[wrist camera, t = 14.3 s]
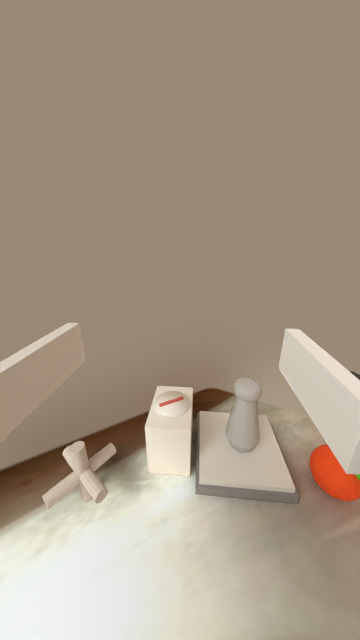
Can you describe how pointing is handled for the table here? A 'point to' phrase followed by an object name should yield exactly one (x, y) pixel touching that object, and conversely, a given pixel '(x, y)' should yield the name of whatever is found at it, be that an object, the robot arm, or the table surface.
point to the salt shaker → (244, 416)
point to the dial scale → (214, 451)
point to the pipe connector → (81, 474)
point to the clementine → (333, 475)
